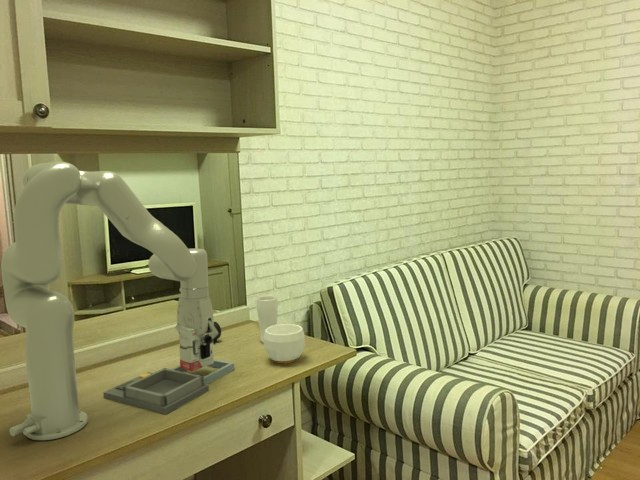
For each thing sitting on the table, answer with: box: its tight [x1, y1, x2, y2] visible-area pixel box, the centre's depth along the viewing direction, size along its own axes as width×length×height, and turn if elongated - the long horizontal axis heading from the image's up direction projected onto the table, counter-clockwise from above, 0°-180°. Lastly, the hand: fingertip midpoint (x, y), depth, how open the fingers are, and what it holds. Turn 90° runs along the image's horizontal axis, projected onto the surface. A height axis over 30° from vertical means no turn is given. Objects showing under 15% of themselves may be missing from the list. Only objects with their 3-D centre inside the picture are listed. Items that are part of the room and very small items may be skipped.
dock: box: [102, 367, 210, 415], centre depth 133 cm, size 15×22×4 cm
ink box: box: [179, 326, 215, 372], centre depth 145 cm, size 9×5×12 cm, turn 143°
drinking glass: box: [256, 295, 278, 344], centre depth 173 cm, size 7×7×15 cm
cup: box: [263, 323, 306, 364], centre depth 155 cm, size 12×12×10 cm
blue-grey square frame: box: [171, 358, 235, 385], centre depth 146 cm, size 14×14×2 cm
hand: (197, 355), depth 145 cm, fingers closed on ink box, 5 cm apart
